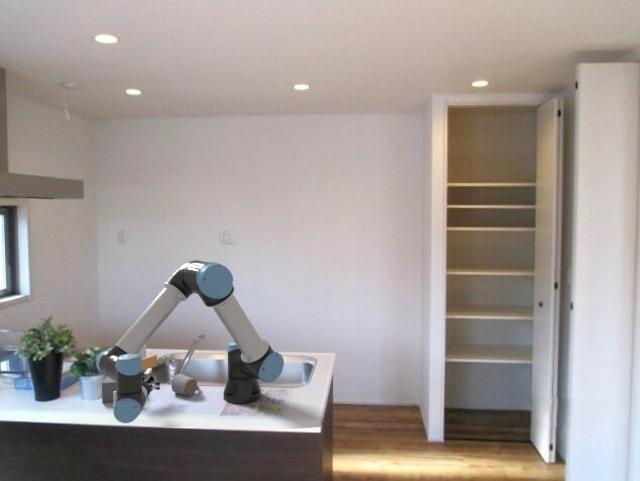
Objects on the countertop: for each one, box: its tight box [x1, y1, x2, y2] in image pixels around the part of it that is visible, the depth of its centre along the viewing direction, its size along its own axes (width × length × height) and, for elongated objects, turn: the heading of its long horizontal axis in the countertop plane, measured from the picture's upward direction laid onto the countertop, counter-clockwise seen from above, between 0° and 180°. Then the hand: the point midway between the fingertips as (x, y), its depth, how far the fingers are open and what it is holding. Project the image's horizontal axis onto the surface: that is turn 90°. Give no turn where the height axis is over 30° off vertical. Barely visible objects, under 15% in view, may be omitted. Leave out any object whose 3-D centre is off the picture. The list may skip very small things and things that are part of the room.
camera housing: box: [101, 376, 117, 404], centre depth 202 cm, size 14×10×9 cm
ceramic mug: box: [171, 373, 200, 397], centre depth 207 cm, size 11×8×8 cm
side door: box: [112, 354, 158, 408], centre depth 196 cm, size 20×2×16 cm, turn 150°
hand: (149, 371), depth 189 cm, fingers closed
